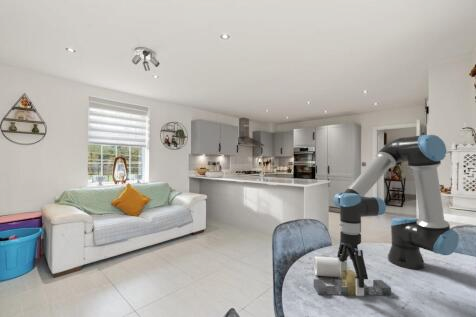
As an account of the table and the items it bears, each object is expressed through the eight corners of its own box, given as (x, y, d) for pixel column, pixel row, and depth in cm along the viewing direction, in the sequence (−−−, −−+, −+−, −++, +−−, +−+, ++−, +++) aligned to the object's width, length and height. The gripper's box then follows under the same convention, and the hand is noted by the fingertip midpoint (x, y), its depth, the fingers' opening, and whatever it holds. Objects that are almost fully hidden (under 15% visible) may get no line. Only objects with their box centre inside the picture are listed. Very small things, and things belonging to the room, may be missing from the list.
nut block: (352, 287, 93) (352, 270, 93) (357, 293, 89) (357, 275, 89) (342, 287, 93) (342, 270, 93) (346, 293, 89) (346, 274, 89)
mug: (340, 280, 98) (340, 261, 99) (316, 278, 100) (316, 259, 101) (334, 269, 110) (333, 252, 111) (312, 267, 112) (312, 251, 112)
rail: (381, 287, 94) (381, 279, 94) (391, 295, 88) (391, 287, 88) (313, 286, 94) (313, 279, 94) (318, 294, 88) (318, 287, 88)
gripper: (329, 224, 104) (329, 270, 103) (356, 242, 79) (357, 304, 79) (345, 224, 104) (346, 270, 103) (378, 242, 79) (379, 304, 78)
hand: (351, 285), depth 91 cm, fingers open, 13 cm apart
